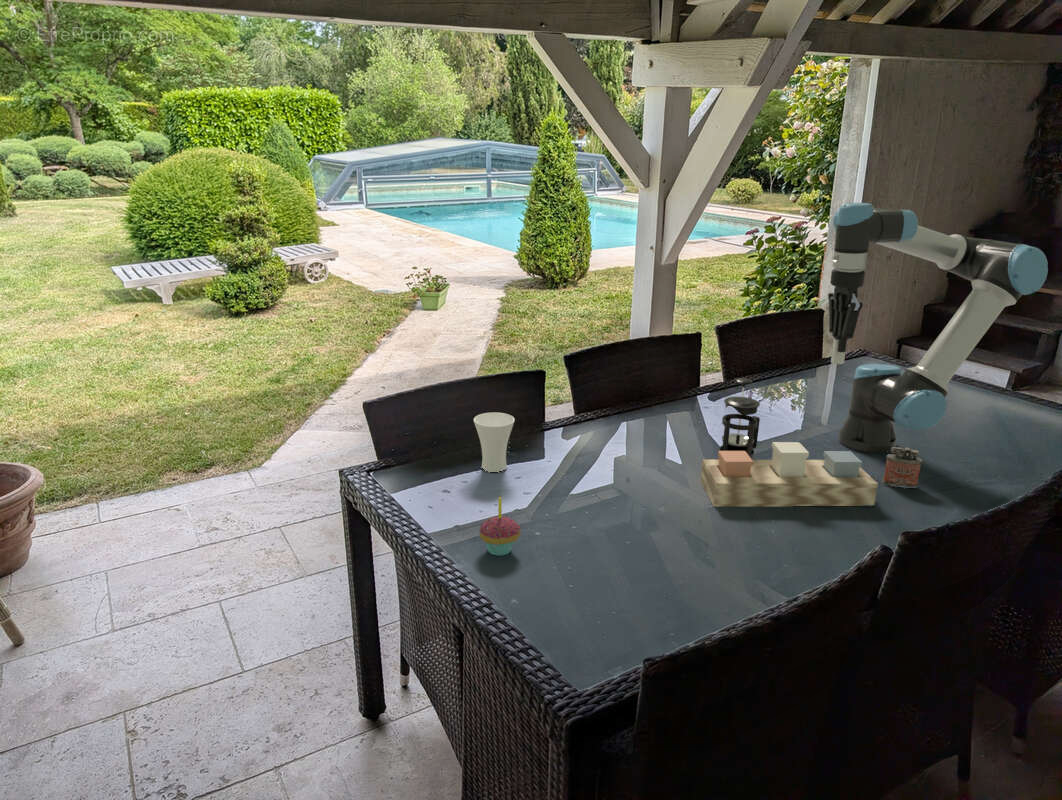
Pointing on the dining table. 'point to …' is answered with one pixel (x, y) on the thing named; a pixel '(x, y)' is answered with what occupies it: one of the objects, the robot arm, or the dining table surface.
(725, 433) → the french press
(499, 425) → the cup
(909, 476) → the lighter
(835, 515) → the dining table surface
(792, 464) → the cream key
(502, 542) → the cupcake
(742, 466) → the terracotta key
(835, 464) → the slate key
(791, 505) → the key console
